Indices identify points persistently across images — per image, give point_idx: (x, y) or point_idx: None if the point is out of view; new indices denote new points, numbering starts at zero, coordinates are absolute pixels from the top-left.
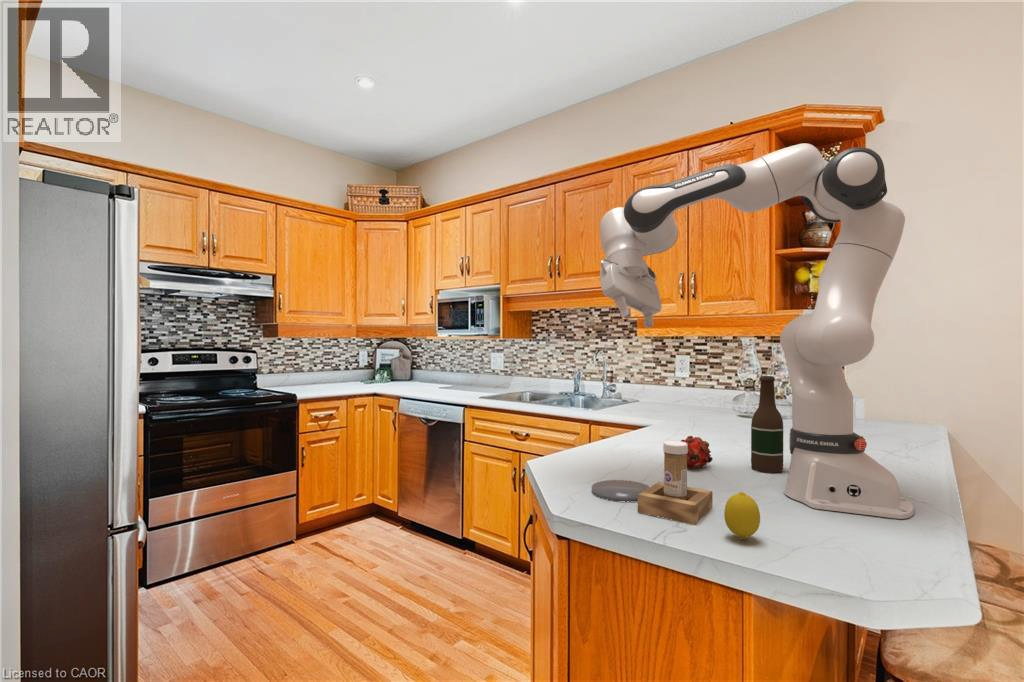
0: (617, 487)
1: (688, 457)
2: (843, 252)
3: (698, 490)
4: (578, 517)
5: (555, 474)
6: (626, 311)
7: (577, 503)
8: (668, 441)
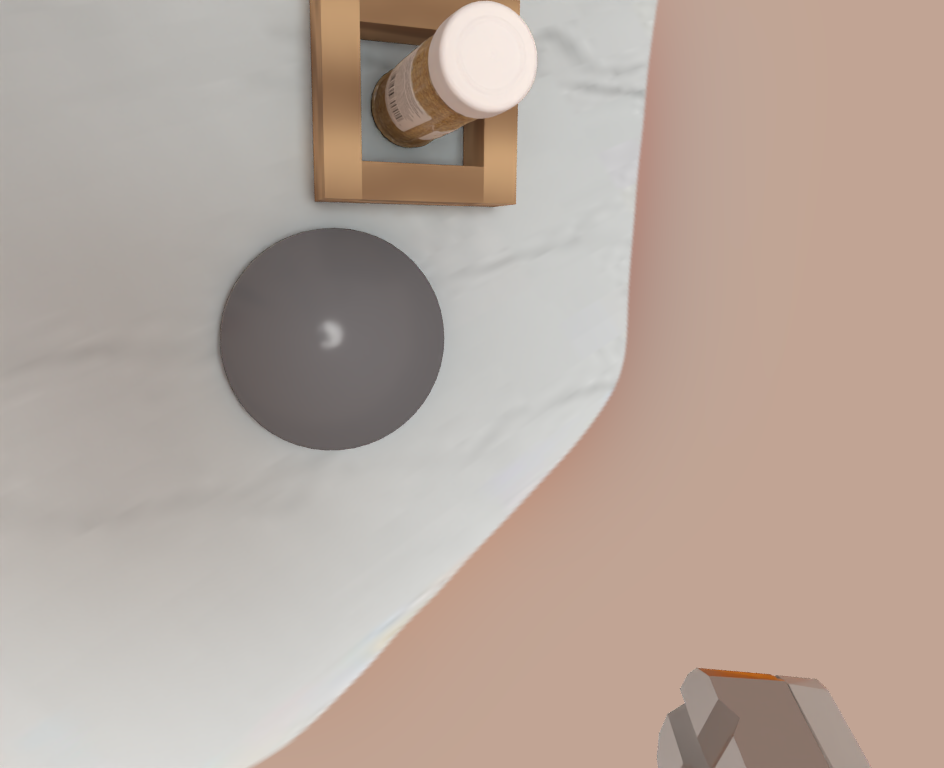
0: (340, 358)
1: None
2: None
3: (345, 27)
4: (616, 329)
5: (273, 657)
6: (838, 732)
7: (519, 397)
8: (490, 91)
